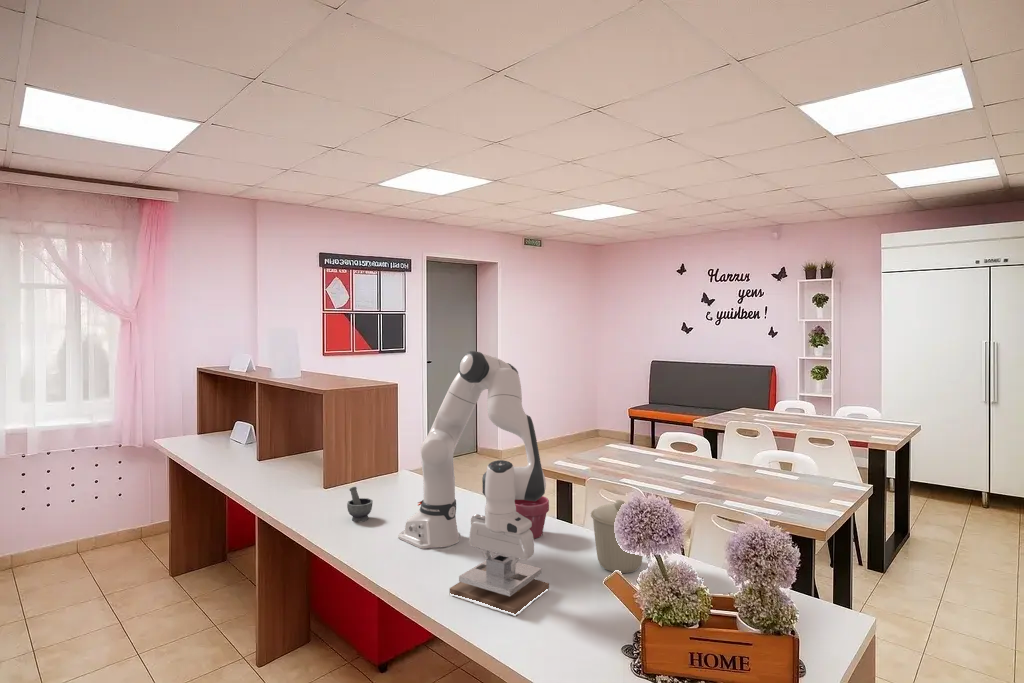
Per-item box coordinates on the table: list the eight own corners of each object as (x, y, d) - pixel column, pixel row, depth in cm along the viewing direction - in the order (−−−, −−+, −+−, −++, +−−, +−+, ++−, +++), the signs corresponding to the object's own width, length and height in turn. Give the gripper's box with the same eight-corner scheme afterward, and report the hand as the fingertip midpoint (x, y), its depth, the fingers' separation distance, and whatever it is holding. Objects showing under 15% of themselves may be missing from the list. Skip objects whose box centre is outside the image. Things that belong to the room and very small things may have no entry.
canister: (659, 565, 181) (659, 499, 180) (630, 585, 167) (630, 513, 166) (610, 550, 193) (610, 488, 192) (579, 567, 179) (579, 501, 178)
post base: (449, 595, 161) (449, 565, 161) (486, 571, 176) (486, 544, 176) (515, 616, 149) (515, 584, 149) (548, 589, 164) (548, 560, 164)
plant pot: (510, 527, 214) (510, 493, 214) (547, 527, 214) (547, 493, 214) (510, 542, 200) (510, 505, 200) (550, 542, 200) (550, 505, 200)
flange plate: (459, 581, 160) (458, 562, 160) (493, 560, 174) (493, 543, 174) (509, 596, 151) (509, 575, 151) (541, 573, 165) (541, 554, 165)
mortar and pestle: (377, 519, 224) (377, 488, 223) (356, 525, 217) (356, 494, 216) (361, 512, 231) (361, 483, 231) (340, 518, 224) (340, 488, 224)
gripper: (464, 516, 165) (465, 563, 165) (525, 529, 154) (525, 580, 154) (477, 510, 170) (477, 555, 171) (536, 522, 159) (537, 571, 160)
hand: (500, 567), depth 162 cm, fingers closed on flange plate, 6 cm apart
